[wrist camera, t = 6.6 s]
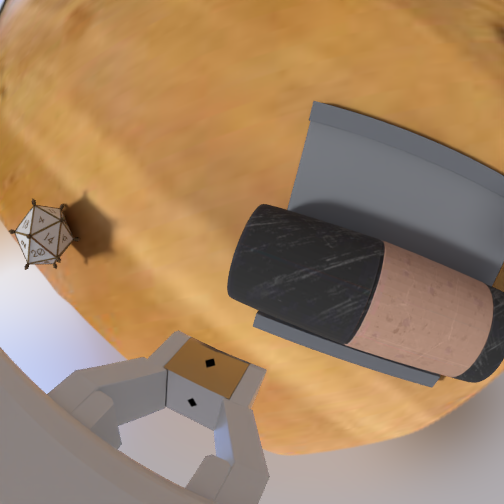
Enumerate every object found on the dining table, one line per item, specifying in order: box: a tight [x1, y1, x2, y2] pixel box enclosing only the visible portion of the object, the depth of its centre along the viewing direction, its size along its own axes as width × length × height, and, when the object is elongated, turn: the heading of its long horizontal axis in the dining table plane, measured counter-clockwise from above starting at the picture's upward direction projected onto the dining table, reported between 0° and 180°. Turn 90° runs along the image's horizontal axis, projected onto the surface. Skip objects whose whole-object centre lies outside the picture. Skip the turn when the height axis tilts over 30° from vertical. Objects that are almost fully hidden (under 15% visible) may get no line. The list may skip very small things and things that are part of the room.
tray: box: [253, 101, 504, 387], centre depth 23 cm, size 20×19×1 cm
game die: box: [9, 198, 80, 270], centre depth 31 cm, size 9×8×10 cm
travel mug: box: [227, 204, 504, 383], centre depth 20 cm, size 8×8×20 cm
